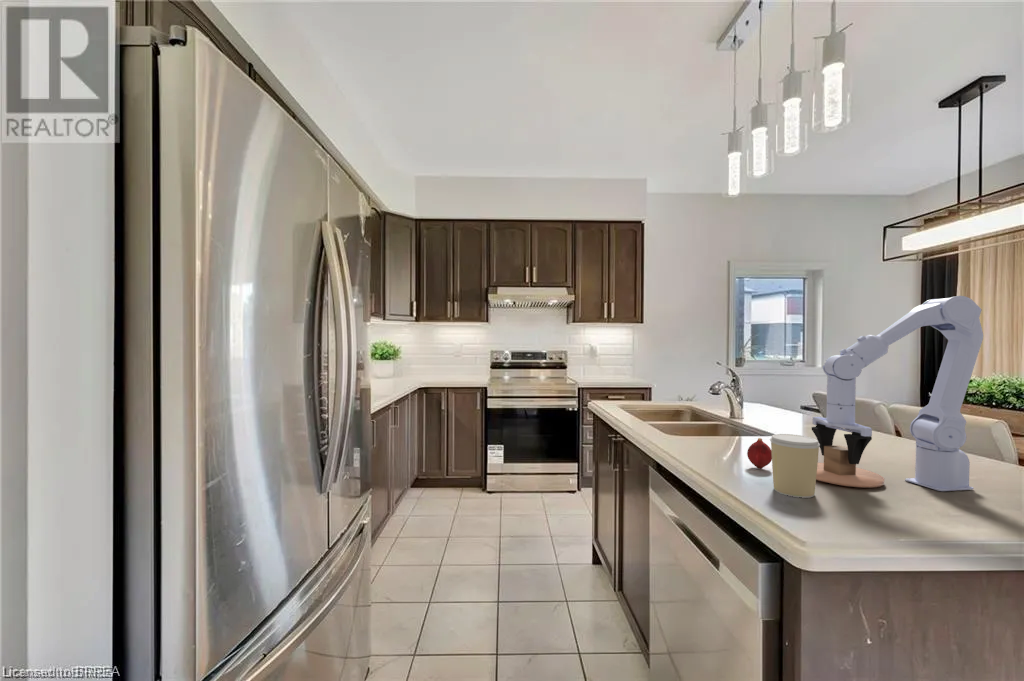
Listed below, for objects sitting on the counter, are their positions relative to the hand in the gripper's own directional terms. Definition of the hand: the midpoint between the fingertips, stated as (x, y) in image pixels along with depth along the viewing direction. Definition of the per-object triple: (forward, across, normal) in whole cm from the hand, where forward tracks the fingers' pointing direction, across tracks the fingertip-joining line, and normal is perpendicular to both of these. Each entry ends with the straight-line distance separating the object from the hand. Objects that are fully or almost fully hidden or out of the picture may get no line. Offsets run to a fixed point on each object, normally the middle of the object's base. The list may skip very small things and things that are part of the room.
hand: (839, 459), depth 111 cm
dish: (+5, 0, 0) cm, 5 cm away
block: (+3, 0, 0) cm, 3 cm away
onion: (+5, -10, -14) cm, 18 cm away
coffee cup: (+5, +7, -19) cm, 21 cm away
